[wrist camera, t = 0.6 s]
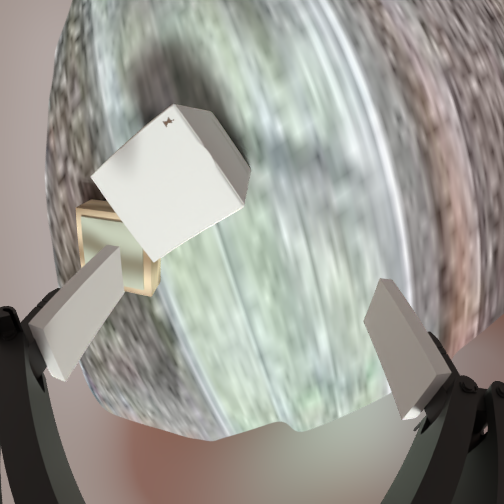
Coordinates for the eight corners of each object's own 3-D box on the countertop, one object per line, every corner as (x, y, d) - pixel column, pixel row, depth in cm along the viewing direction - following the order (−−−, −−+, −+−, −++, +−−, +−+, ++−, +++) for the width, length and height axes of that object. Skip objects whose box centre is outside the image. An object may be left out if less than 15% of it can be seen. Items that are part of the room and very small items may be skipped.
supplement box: (152, 152, 32) (85, 175, 18) (211, 109, 30) (173, 98, 16) (193, 211, 35) (151, 267, 22) (253, 172, 33) (247, 206, 19)
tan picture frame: (91, 199, 35) (74, 208, 31) (162, 207, 35) (150, 218, 31) (96, 268, 39) (82, 282, 35) (160, 281, 40) (150, 297, 36)
